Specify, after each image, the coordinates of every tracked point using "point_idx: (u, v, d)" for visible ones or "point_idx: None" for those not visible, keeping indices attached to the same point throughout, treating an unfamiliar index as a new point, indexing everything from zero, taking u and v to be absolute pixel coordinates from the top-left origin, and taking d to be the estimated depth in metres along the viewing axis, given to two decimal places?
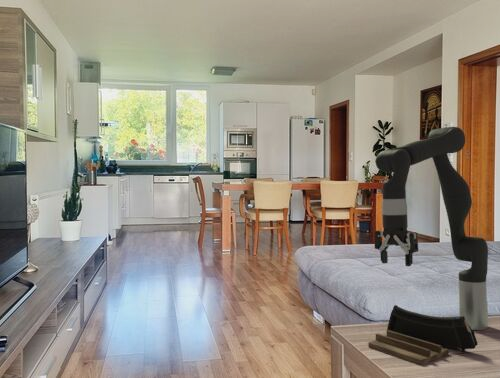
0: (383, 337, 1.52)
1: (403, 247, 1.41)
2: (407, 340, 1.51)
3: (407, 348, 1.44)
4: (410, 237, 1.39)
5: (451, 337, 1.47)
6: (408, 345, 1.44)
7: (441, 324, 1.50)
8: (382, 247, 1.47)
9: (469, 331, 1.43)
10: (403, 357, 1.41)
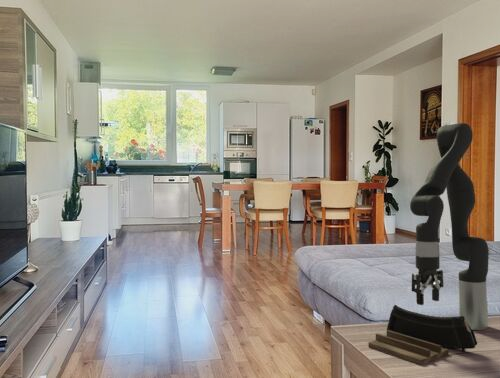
0: (383, 337, 1.52)
1: (438, 284, 1.56)
2: (407, 340, 1.51)
3: (407, 348, 1.44)
4: (441, 274, 1.57)
5: (451, 336, 1.47)
6: (408, 345, 1.44)
7: (440, 323, 1.50)
8: (423, 289, 1.51)
9: (469, 331, 1.43)
10: (403, 357, 1.41)
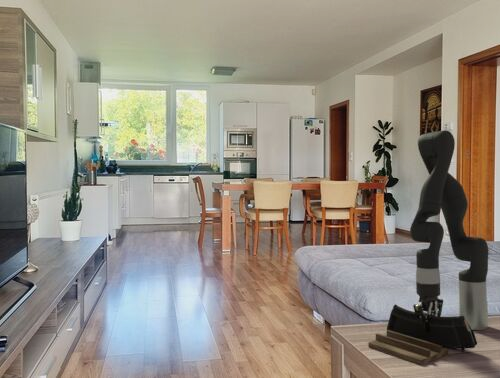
0: (383, 337, 1.52)
1: (436, 313, 1.55)
2: (407, 340, 1.51)
3: (407, 348, 1.44)
4: (441, 303, 1.57)
5: (451, 336, 1.47)
6: (408, 345, 1.44)
7: (440, 323, 1.50)
8: (428, 318, 1.53)
9: (469, 330, 1.44)
10: (403, 357, 1.41)
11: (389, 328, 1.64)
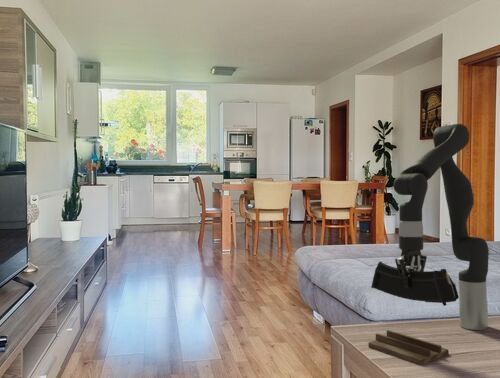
0: (383, 337, 1.52)
1: (419, 268, 1.50)
2: (407, 340, 1.51)
3: (407, 348, 1.44)
4: (424, 259, 1.52)
5: (432, 290, 1.42)
6: (408, 345, 1.44)
7: (422, 277, 1.45)
8: None
9: (450, 283, 1.38)
10: (403, 357, 1.41)
11: (373, 286, 1.60)
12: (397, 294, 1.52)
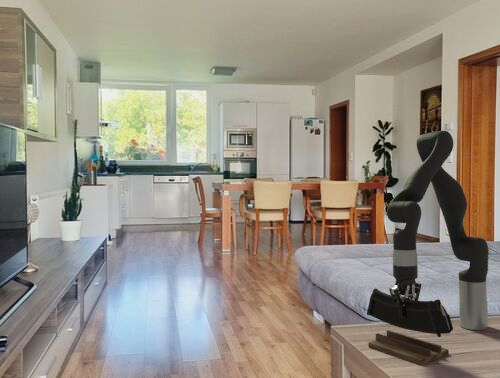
0: (383, 337, 1.52)
1: (413, 297, 1.48)
2: (407, 340, 1.51)
3: (407, 348, 1.44)
4: (419, 287, 1.50)
5: (427, 321, 1.40)
6: (408, 345, 1.44)
7: (417, 307, 1.43)
8: (405, 302, 1.46)
9: (444, 315, 1.36)
10: (403, 357, 1.41)
11: (369, 313, 1.59)
12: (392, 323, 1.51)
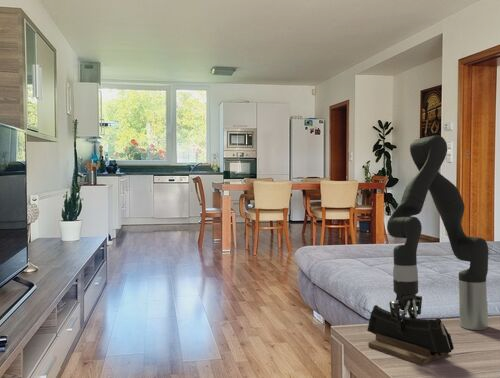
0: (383, 337, 1.52)
1: (415, 311, 1.48)
2: None
3: (407, 348, 1.44)
4: (420, 300, 1.50)
5: (427, 340, 1.40)
6: (408, 345, 1.44)
7: (417, 326, 1.43)
8: (404, 317, 1.45)
9: (444, 334, 1.36)
10: (403, 357, 1.41)
11: (369, 329, 1.59)
12: None
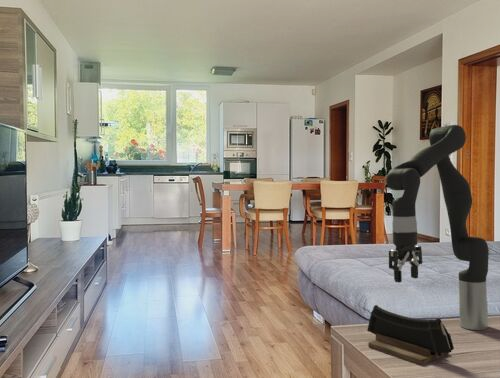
0: (383, 337, 1.52)
1: (416, 261, 1.50)
2: None
3: (407, 348, 1.44)
4: (420, 250, 1.51)
5: (427, 340, 1.40)
6: (408, 345, 1.44)
7: (417, 326, 1.43)
8: (401, 266, 1.46)
9: (444, 334, 1.36)
10: (403, 357, 1.41)
11: (369, 329, 1.59)
12: None
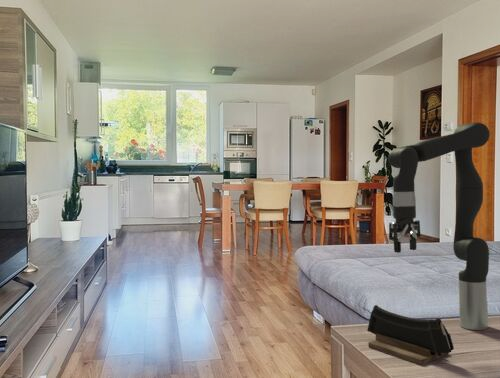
0: (383, 337, 1.52)
1: (415, 233, 1.62)
2: None
3: (407, 348, 1.44)
4: (418, 224, 1.63)
5: (427, 340, 1.40)
6: (408, 345, 1.44)
7: (417, 326, 1.43)
8: (400, 237, 1.57)
9: (444, 334, 1.36)
10: (403, 357, 1.41)
11: (369, 329, 1.59)
12: None
